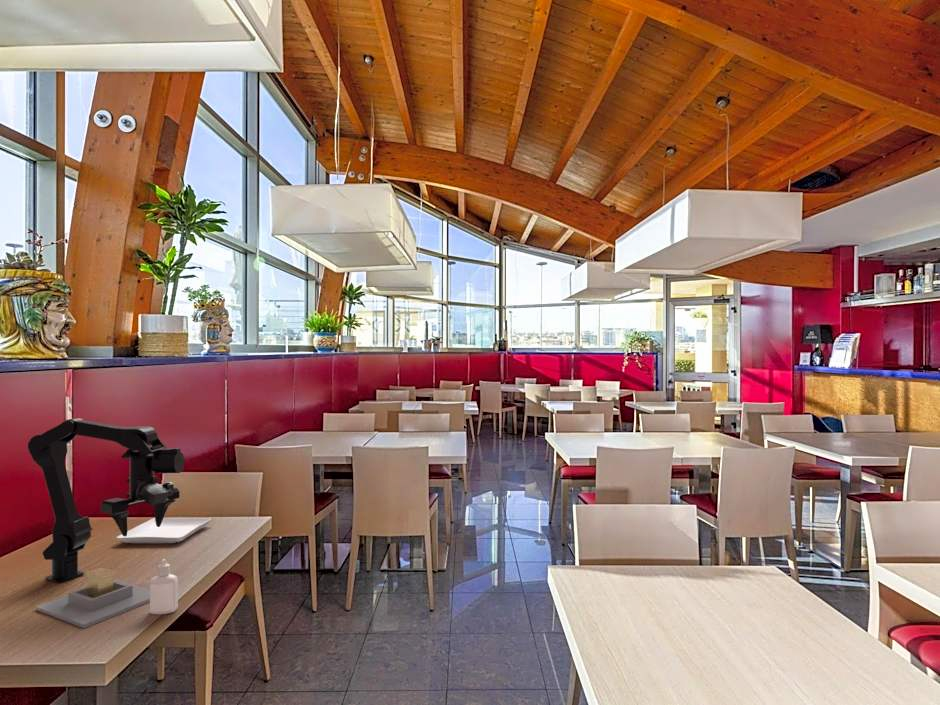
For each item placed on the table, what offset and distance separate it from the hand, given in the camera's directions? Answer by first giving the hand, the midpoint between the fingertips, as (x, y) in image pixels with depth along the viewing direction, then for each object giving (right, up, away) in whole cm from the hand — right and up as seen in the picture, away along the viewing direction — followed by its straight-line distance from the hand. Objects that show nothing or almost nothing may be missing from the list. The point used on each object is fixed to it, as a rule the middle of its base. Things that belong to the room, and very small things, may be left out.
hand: (142, 531), depth 150 cm
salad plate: (-12, -13, +34) cm, 39 cm away
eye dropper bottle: (+18, -12, -22) cm, 31 cm away
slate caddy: (0, -12, -17) cm, 21 cm away
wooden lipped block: (0, -11, -17) cm, 20 cm away
